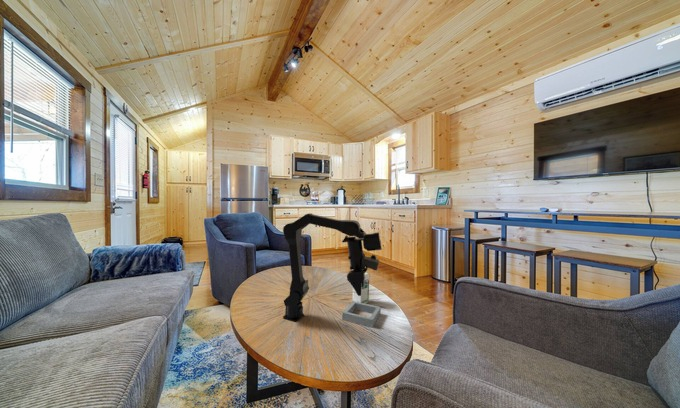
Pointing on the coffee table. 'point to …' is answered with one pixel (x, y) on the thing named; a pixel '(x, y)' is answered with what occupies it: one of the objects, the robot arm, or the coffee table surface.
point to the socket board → (360, 319)
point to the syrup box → (363, 291)
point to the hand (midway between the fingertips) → (360, 291)
